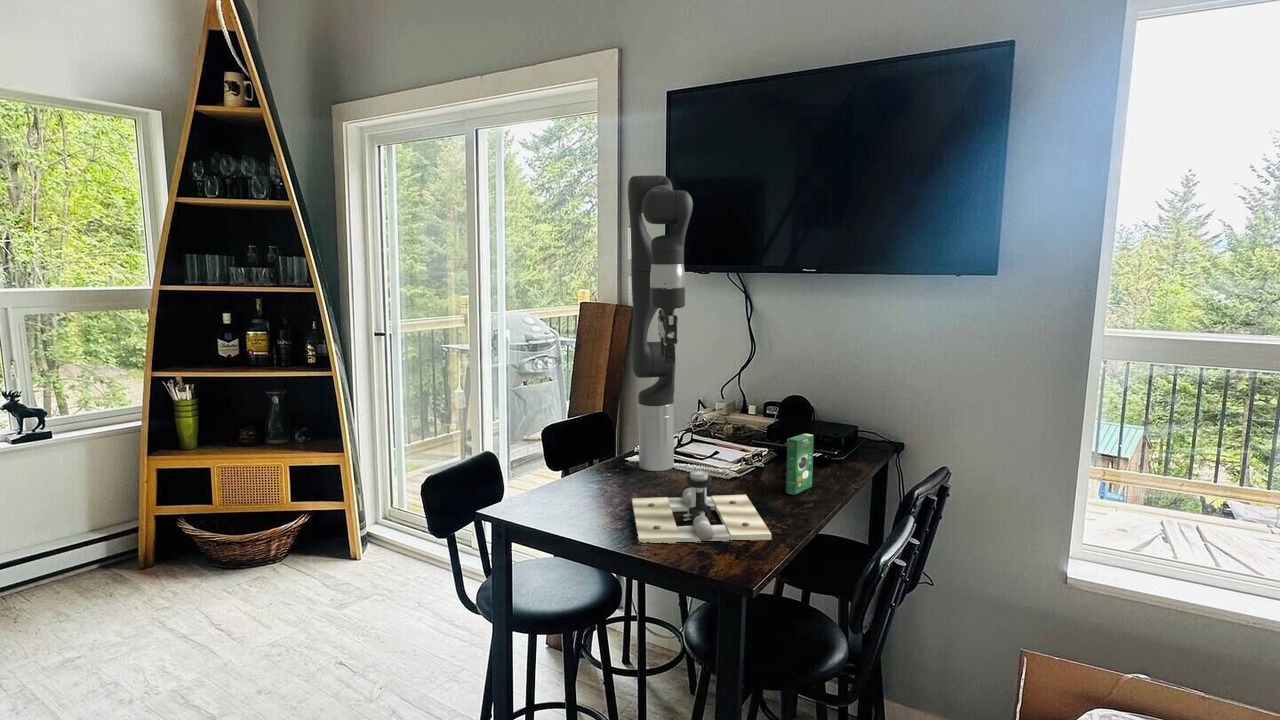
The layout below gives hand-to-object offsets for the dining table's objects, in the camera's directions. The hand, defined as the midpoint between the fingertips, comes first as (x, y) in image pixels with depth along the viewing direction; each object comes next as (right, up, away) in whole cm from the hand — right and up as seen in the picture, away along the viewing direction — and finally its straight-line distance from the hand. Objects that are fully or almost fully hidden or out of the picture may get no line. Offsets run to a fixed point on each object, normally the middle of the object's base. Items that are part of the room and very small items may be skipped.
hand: (667, 359), depth 154 cm
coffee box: (+32, -31, +13) cm, 46 cm away
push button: (+6, -34, -5) cm, 35 cm away
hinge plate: (+6, -34, -6) cm, 35 cm away
